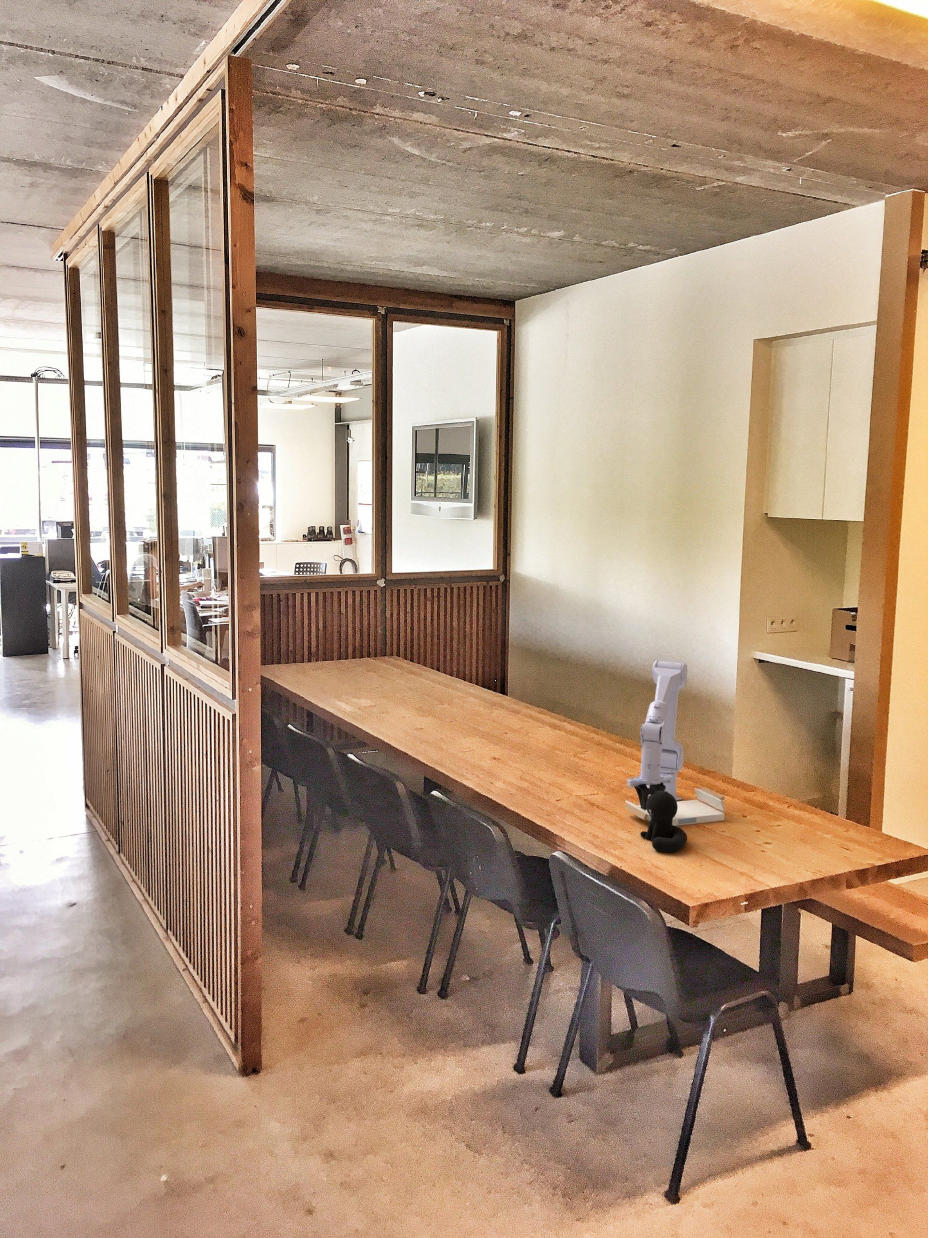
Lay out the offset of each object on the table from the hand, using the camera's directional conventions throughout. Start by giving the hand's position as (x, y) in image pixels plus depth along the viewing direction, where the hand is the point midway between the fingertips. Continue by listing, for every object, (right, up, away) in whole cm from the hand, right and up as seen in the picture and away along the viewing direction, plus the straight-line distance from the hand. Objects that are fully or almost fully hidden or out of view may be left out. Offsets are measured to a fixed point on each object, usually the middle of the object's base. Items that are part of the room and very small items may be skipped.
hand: (648, 808), depth 296 cm
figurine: (+1, -6, -19) cm, 20 cm away
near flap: (-2, 0, -1) cm, 2 cm away
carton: (+10, -3, +4) cm, 11 cm away
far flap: (+19, +1, +8) cm, 21 cm away
